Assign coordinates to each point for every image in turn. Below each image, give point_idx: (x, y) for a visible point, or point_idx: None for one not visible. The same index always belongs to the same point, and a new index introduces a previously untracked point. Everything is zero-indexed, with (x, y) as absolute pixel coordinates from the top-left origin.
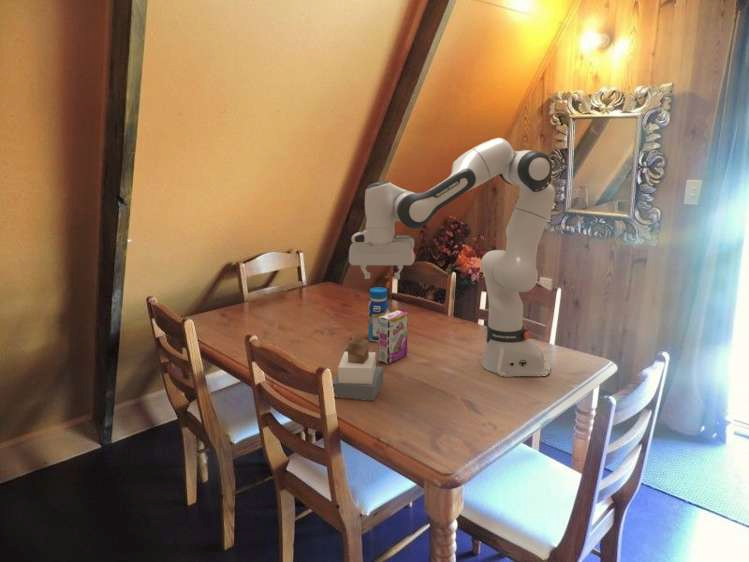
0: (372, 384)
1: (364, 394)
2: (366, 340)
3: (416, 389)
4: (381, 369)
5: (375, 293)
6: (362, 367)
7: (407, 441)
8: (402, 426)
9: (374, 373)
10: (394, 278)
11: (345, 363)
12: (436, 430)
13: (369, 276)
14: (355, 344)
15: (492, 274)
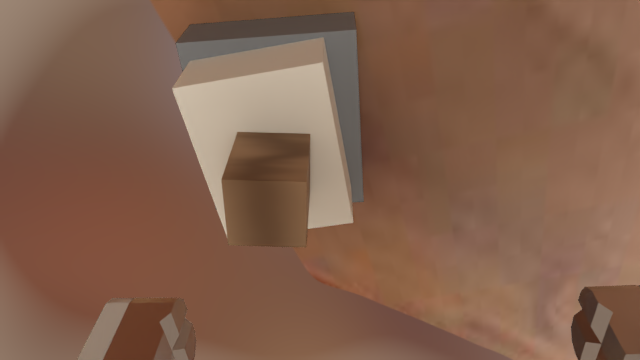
0: (354, 188)
1: None
2: (301, 196)
3: (496, 63)
4: (355, 57)
5: None
6: (316, 222)
7: (481, 319)
8: (464, 273)
9: (336, 102)
10: (574, 347)
11: None
12: (551, 273)
13: (180, 350)
14: (267, 244)
15: None
